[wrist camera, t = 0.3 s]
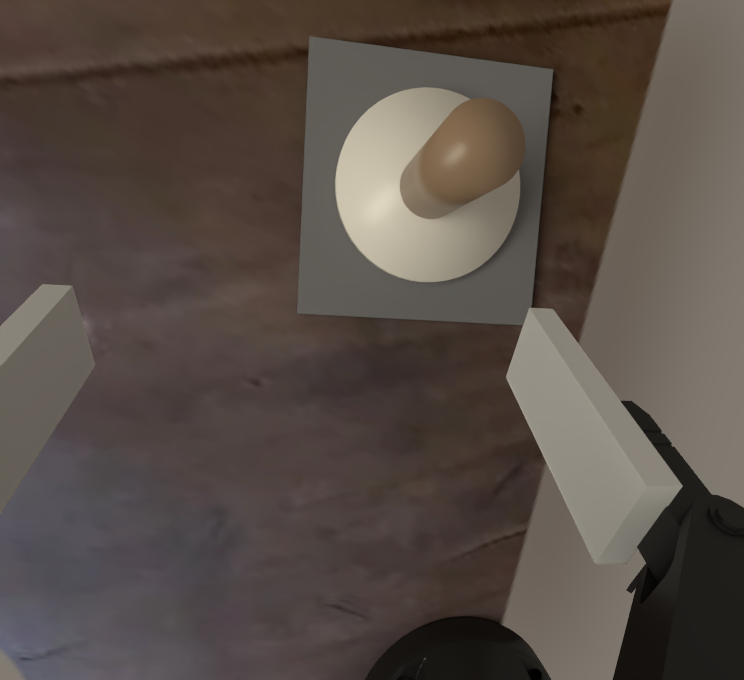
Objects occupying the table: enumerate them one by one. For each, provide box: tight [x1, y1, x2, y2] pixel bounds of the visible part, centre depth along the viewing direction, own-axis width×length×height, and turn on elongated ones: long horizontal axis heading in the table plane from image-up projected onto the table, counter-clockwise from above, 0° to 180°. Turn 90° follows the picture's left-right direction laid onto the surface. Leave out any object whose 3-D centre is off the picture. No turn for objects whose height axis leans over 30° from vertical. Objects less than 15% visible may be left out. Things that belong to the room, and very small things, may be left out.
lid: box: [335, 87, 525, 282], centre depth 26 cm, size 12×12×10 cm
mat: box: [297, 36, 553, 325], centre depth 32 cm, size 17×16×1 cm
